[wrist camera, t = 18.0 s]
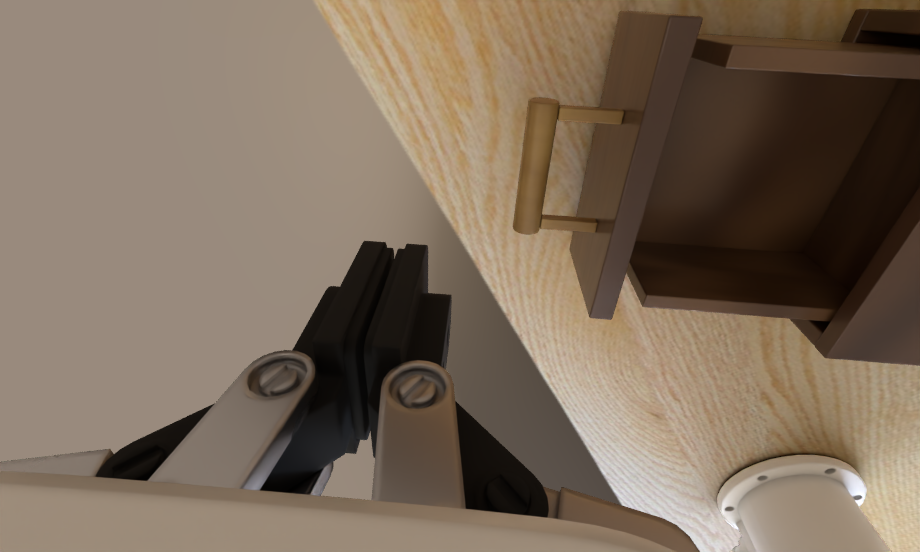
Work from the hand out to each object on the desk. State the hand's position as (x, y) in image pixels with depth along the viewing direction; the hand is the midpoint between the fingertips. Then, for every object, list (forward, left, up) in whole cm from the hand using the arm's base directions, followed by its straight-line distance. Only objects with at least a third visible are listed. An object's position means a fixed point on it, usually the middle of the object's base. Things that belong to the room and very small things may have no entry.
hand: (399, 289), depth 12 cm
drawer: (+2, -13, -16) cm, 21 cm away
